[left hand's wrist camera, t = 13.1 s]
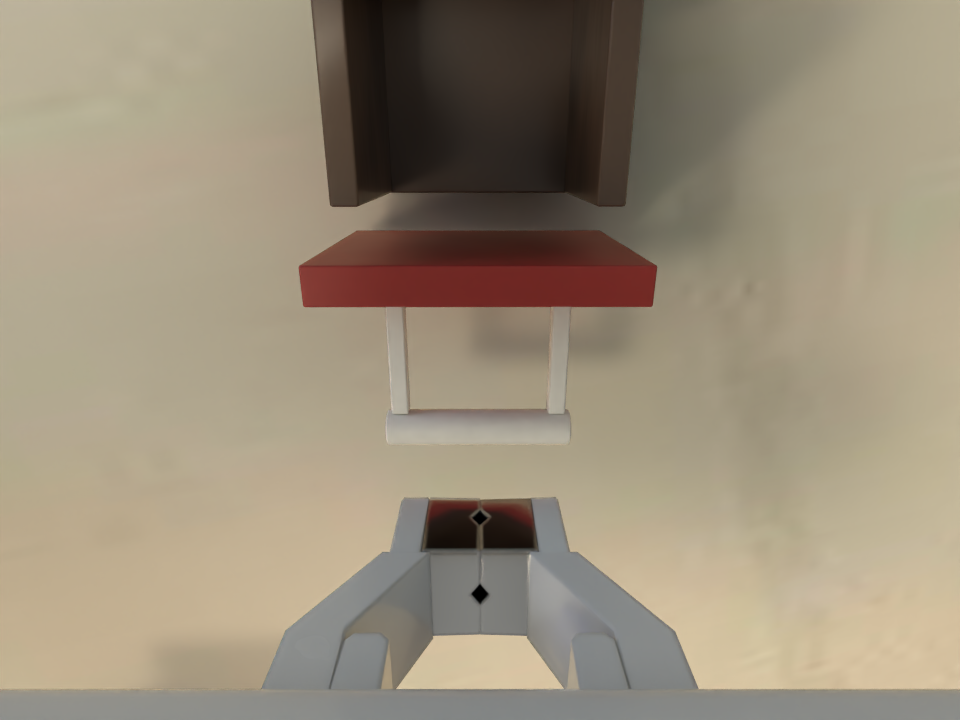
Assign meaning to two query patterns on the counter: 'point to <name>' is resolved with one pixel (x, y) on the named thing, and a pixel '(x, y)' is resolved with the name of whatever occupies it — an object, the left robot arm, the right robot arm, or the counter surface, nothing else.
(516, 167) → the drawer
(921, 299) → the counter surface
